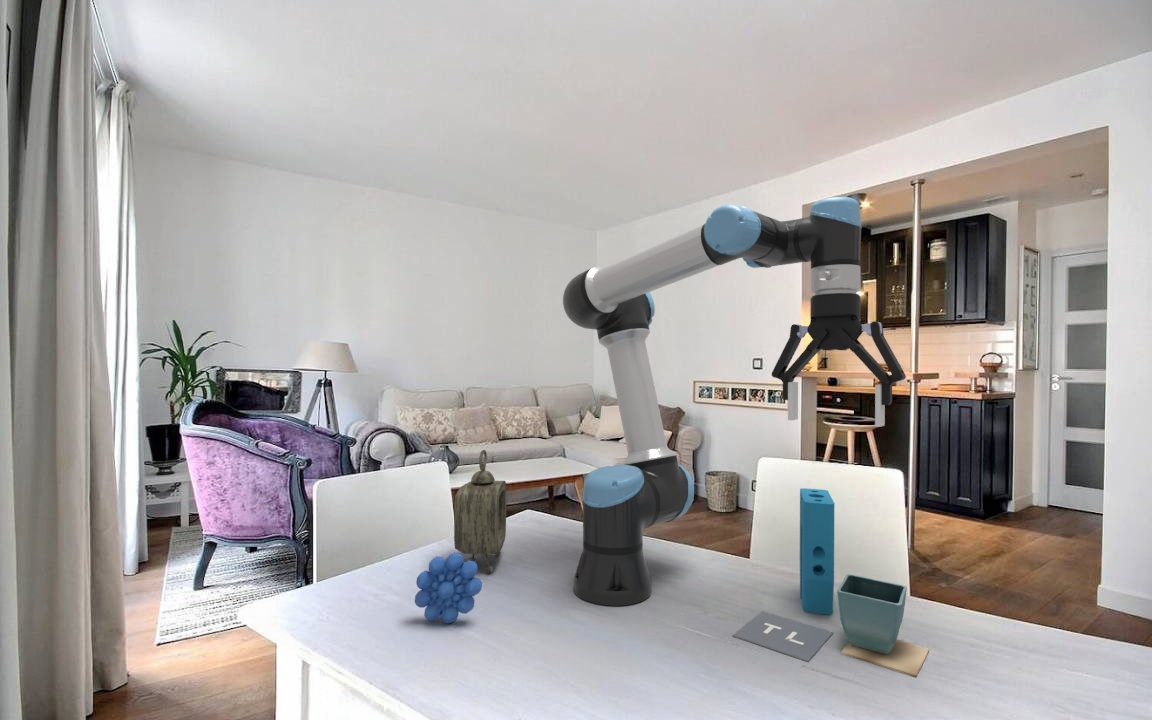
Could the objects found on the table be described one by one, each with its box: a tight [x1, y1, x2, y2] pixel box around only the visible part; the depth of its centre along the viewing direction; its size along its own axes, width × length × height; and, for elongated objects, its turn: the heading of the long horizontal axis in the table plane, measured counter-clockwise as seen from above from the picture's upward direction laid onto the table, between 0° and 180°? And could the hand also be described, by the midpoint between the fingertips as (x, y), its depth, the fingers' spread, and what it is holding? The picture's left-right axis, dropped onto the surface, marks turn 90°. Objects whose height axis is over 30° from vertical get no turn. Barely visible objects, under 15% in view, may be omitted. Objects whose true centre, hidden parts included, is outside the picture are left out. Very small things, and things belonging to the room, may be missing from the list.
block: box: [799, 487, 835, 616], centre depth 105 cm, size 12×5×20 cm, turn 162°
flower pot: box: [836, 573, 908, 654], centre depth 90 cm, size 9×9×9 cm
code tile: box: [732, 610, 834, 663], centre depth 93 cm, size 12×12×1 cm
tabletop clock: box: [453, 449, 507, 574], centre depth 125 cm, size 14×9×25 cm, turn 179°
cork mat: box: [841, 639, 930, 678], centre depth 88 cm, size 10×10×1 cm
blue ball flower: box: [414, 552, 483, 624], centre depth 98 cm, size 12×7×12 cm, turn 85°
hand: (834, 422), depth 94 cm, fingers open, 13 cm apart
